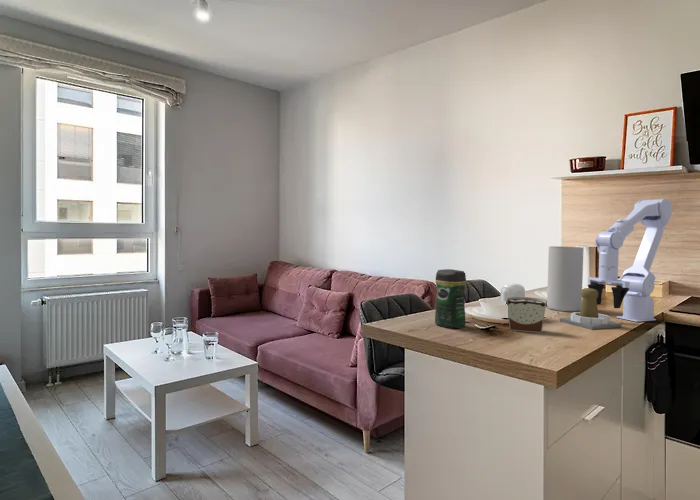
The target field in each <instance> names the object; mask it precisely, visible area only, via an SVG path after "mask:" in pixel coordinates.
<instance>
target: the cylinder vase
mask: <svg viewBox="0 0 700 500" xmlns="http://www.w3.org/2000/svg"><path fill="white" fill-rule="evenodd" d="M584 249H585V248H584V247H581V246H548V259H547V260H548V261H547V294H546V296H547V297H546V303H547V306H548V308H547V309H548V310H549V309H550V310H552V311H558V312H567V313H569V312H571V313H573V312H580V310H581V305H582V299H583V298H582V296H581V291H582V290H583V280H584V279H583V276H584V274H583V273H584Z"/></svg>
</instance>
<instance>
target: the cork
mask: <svg viewBox="0 0 700 500" xmlns="http://www.w3.org/2000/svg"><path fill="white" fill-rule="evenodd" d="M581 296H582V305H581V310H580V311H579V312H580V316H582V317H590V318H599V317H598V313H599V311H598V304H597V300H596V299H597V298H598V291H597V290H595V289H590V288H589V287H588V288H582V291H581Z"/></svg>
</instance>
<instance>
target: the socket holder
mask: <svg viewBox="0 0 700 500" xmlns="http://www.w3.org/2000/svg"><path fill="white" fill-rule="evenodd" d="M598 317H599V318H590V317H582V316H580V311H575V312H571V313H570V317H563V318H559V322H561V323H564V324H569V325H573V326H576V327H581V328H584V329H589V330H601V329H612V328H622V325H623V324H622V323H619V322H616V321H612V320H611V316H610V315H608V314H603V313H599V312H598Z"/></svg>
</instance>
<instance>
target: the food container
mask: <svg viewBox="0 0 700 500" xmlns="http://www.w3.org/2000/svg"><path fill="white" fill-rule="evenodd" d="M506 304H507V306H508V318H509V319H508V324H509V325H508V326H509V331H512V332H526V333H538V334H539V333H541V334H542V333H543V327H544V320H545V313H546V308H547V309H549V308H548V306H547V299H544V298H537V297H529V296H525V297H510V298H507V300H506ZM506 304H505V305H506Z"/></svg>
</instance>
